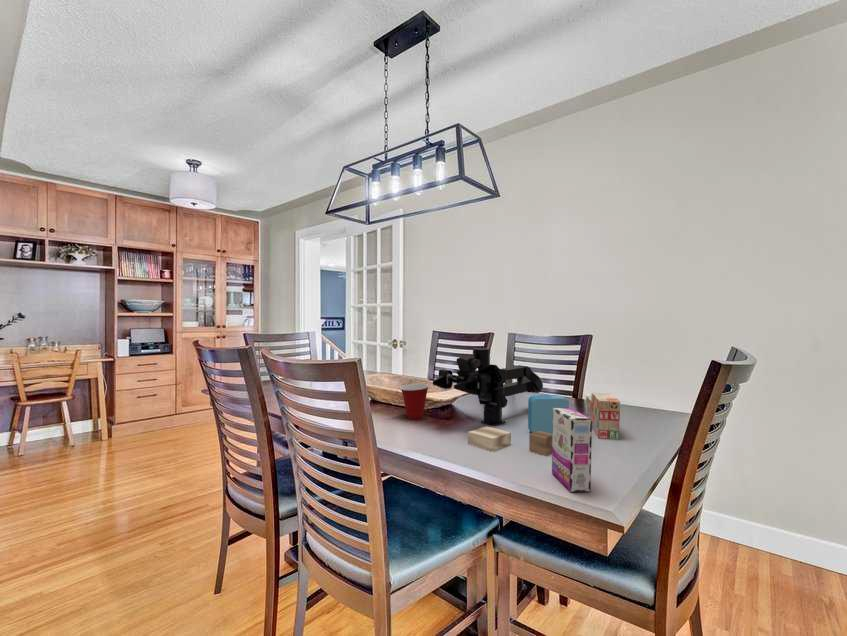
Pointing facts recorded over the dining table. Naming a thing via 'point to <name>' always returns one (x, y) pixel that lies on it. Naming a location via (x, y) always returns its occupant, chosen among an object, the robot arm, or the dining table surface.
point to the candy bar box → (572, 449)
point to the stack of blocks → (604, 415)
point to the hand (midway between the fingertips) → (443, 384)
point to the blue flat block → (544, 411)
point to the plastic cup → (414, 399)
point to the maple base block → (489, 438)
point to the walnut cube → (540, 443)
